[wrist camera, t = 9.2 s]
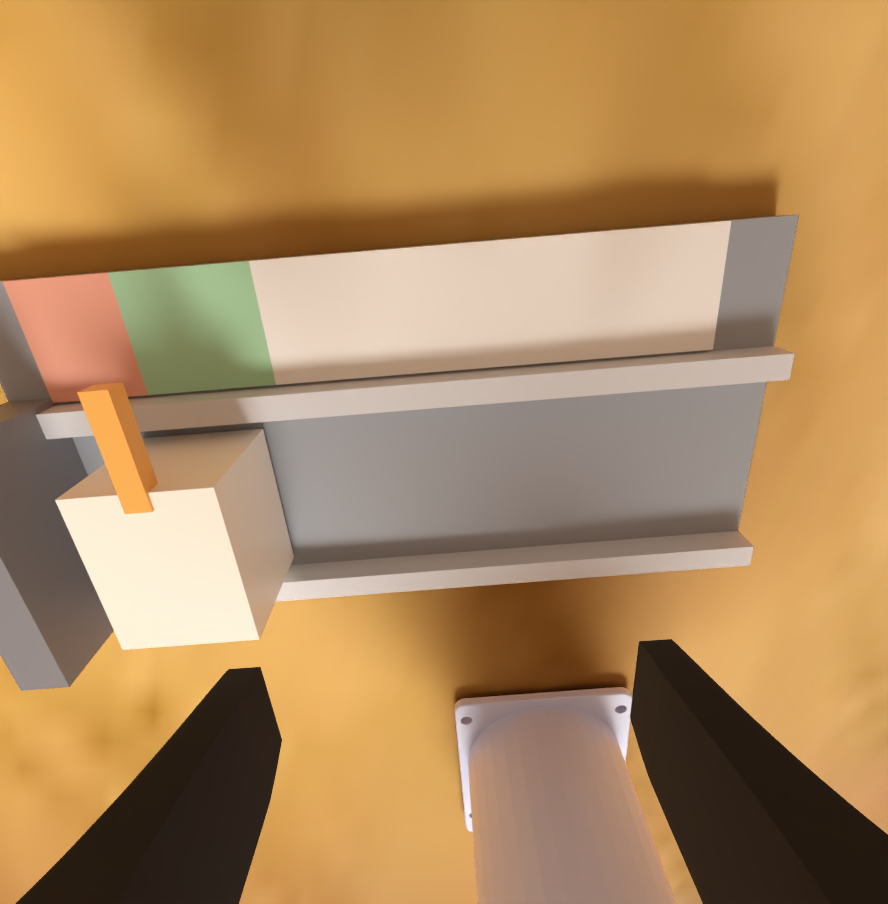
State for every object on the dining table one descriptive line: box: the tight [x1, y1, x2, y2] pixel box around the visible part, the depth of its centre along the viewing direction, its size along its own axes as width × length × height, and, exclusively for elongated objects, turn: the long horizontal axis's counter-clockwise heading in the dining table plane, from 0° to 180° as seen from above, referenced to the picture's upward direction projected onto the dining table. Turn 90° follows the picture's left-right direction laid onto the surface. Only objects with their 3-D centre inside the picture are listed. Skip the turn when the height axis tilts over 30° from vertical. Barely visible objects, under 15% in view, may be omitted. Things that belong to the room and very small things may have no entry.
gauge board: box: [0, 215, 799, 690], centre depth 15 cm, size 12×24×5 cm, turn 94°
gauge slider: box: [55, 382, 294, 650], centre depth 15 cm, size 8×4×4 cm, turn 4°
